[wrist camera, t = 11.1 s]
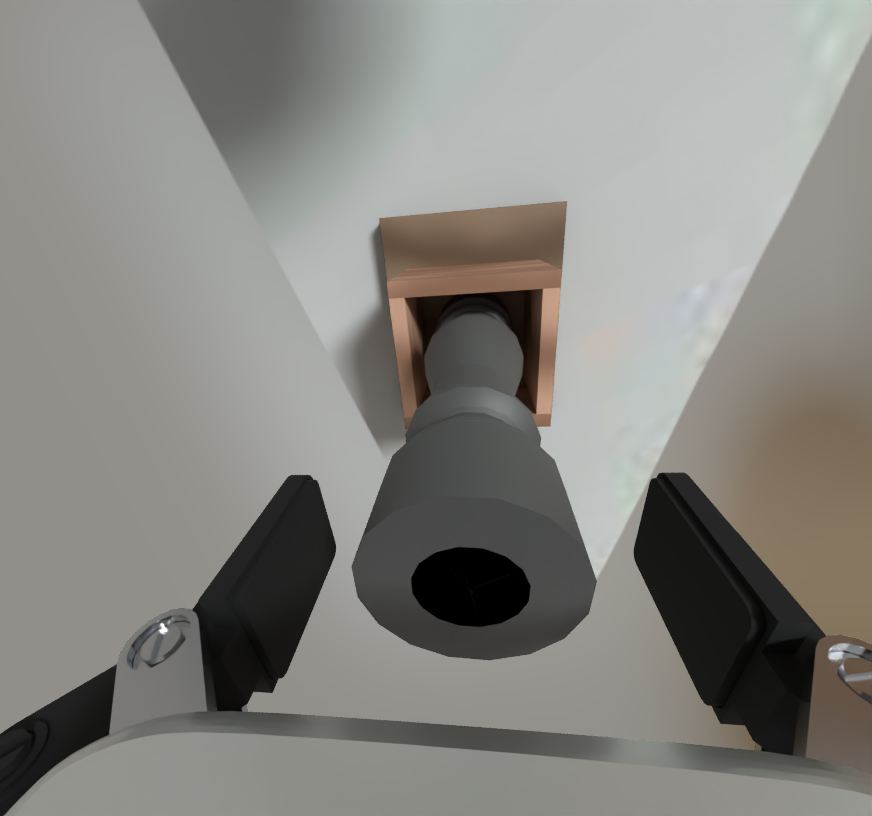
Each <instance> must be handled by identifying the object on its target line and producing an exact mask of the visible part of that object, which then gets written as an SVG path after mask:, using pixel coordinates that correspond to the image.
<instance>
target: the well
mask: <svg viewBox="0 0 872 816" xmlns="http://www.w3.org/2000/svg"><path fill="white" fill-rule="evenodd" d="M566 208H567V201H564V202H553V203H542V204H531V205H520V206H509V207H498V208H487V209H476V210H465V211H454V212H443V213H433V214H422V215H411V216H400V217H389V218H379V221H380V229H381V236H382V244H383V252H384V260H385V267H386V275H387V290H388V298H389V305H390V313H391V321H392V328H393V336H394V344H395V351H396V359H397V367H398V374H399V382H400V390H401V397H402V405H403V413H404V420H405V428H406V429H408V428H409V425H410V423H411V420H412V418H413V415H414V413H415V410H416V409H417V408H418V407H419V406H420V405H421V404H422V403H423V402H425V401H426V400H427V399H428V398H429V397H430V396H431V392H430V388H429V385H428V382H427V379H426V375H425V359H424V356H425V353H426V351H427V348H428V346H429V343H430V340H431V338H432V336H433V335H434V334H435V331H434V329H435V327H436V324H437V322H438V319H439V316H440V314H441V311H442V309H443V306H444V305H445V304H446V303H447V302H448V301H449V300H450V299H451V298H452V297H453V296H454V295H457V294H470V293H486V292H489V293H491V294H494V295H496V296H497V297H498V298H499V300H500V301H501V302H502V303H503V304H504V305H505V306H506V309H507V311H508V314H509V317H510V319H511V322H512V325H513V328H514V334H515V335H516V337H517V339H518V342H519V345H520V348H521V350H522V353H523V356H524V359H523V371H522V377H521V380H520V383H519V386H518V389H517V392H516V395H515V396H516V397H517V398H518V399H519V400H520V401H521V402H522V403H523V404H524V405H525V406H526V407H527V408H528V409H529V410H530V411H531V412H532V415H533V418H534V420H535V423H536V426H537V427H542V426H550V424H551V412H552V398H553V385H554V371H555V358H556V344H557V330H558V317H559V303H560V289H561V276H562V262H563V249H564V235H565V221H566Z"/></svg>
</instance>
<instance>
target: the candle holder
mask: <svg viewBox="0 0 872 816" xmlns="http://www.w3.org/2000/svg"><path fill="white" fill-rule="evenodd" d="M434 331H435V334H434V335H433V336H432V338H431V340H430V343H429V346H428V348H427V351H426V353H425V356H424V359H425V375H426V379H427V382H428V385H429V388H430V392H431V396H430V397H429V398H428V399H427V400H426V401H425V402H423V403H422V404H421V405H420V406H419V407H418V408H417V409H416V410H415V413H414V415H413V418H412V420H411V423H410V425H409V428H408V430H407V433H406V444H405V445H404V446H403V447H402V448H401V449H399V450H398V451H397V452H396V453H395V454H394V455H393V456H392V459H391V461H390V464H389V466H388V469H387V471H386V474H385V477H384V479H383V482H382V484H381V487H380V490H379V493H378V495H377V498H376V501H375V504H374V506H373V509H372V512H371V515H370V517H369V520H368V523H367V526H366V528H365V531H364V534H363V537H362V539H361V542H360V545H359V548H358V550H357V553H356V556H355V558H354V561H353V564H352V570H353V576H354V581H355V586H356V591H357V595H358V598H359V599H360V601H361V602H362V603H363V604H364V606H365V607H366V608H367V610H368V611H369V612H370V613H371V615H372V616H373V617H374V619H375V620H376V621H377V622H378V624H380V625H381V626H383V627H384V628H386V629H387V630H389V631H390V632H392V633H394V634H395V635H397V636H398V637H400V638H401V639H403V640H404V641H406V642H408V643H409V644H411V645H414V646H417V647H420V648H423V649H426V650H429V651H433V652H436V653H439V654H442V655H445V656H448V657H458V658H459V657H460V658H471V659H483V660H493V659H501V658H507V657H514V656H520V655H527V654H531V653H533V652H536V651H538V650H540V649H542V648H544V647H547V646H549V645H551V644H553V643H555V642H558V641H559V640H562V639H564V638H565V637H566V636H567V635H568V634H569V633H570V632H571V631H572V630H573V629H574V628H575V627H576V626H577V625H578V624H579V623H580V622H581V621H582V620H583V619H584V618H585V617H586V616H587V615H588V614H589V611H590V606H591V603H592V599H593V595H594V591H595V587H596V583H597V581H596V578H595V575H594V572H593V569H592V566H591V563H590V560H589V557H588V554H587V551H586V549H585V546H584V543H583V540H582V537H581V534H580V531H579V528H578V525H577V522H576V519H575V516H574V513H573V511H572V508H571V505H570V502H569V499H568V496H567V493H566V490H565V487H564V485H563V482H562V479H561V477H560V474H559V471H558V468H557V466H556V463H555V460H554V459H553V458H552V457H551V456H549V455H548V454H547V453H546V452H545V451H544V450H543V449H542V448H541V447H540V442H541V437H540V434H539V431H538V428H537V426H536V423H535V420H534V418H533V415H532V412H531V411H530V410H529V409H528V408H527V407H526V406H525V405H524V404H523V403H522V402H521V401H520V400H519V399H518V398H517V397H516V396H515V395H516V392H517V389H518V386H519V383H520V380H521V377H522V371H523V359H524V356H523V353H522V350H521V348H520V345H519V342H518V339H517V337H516V335H515V334H514V328H513V325H512V322H511V319H510V317H509V314H508V311H507V309H506V306H505V305H504V304H503V303H502V302H501V301H500V300H499V298H498V297H497V296H496V295H494V294H491V293H489V292H486V293H470V294H457V295H454V296H453V297H452V298H451V299H450V300H449V301H448V302H447V303H446V304H445V305H444V306H443V309H442V311H441V314H440V316H439V319H438V322H437V324H436V327H435V329H434Z"/></svg>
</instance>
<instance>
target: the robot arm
mask: <svg viewBox="0 0 872 816" xmlns="http://www.w3.org/2000/svg"><path fill="white" fill-rule="evenodd" d="M335 552H336V544H335V540H334V536H333V533H332V529H331V526H330V522H329V519H328V515H327V512H326V509H325V505H324V501H323V498H322V494H321V491H320V487H319V484H318V482H317V480H313V478H312V477H311V476H310V475H291V476H289V477H288V478H287V479H286V480H285V482H284V483H283V484H282V486H281V487H280V489H279V490H278V491H277V493H276V494H275V495H274V497H273V498H272V500H271V501H270V502H269V504H268V505H267V506H266V508H265V509H264V511H263V512H262V513H261V515H260V516H259V517H258V519H257V520H256V522H255V523H254V524H253V526H252V527H251V529H250V530H249V531H248V533H247V534H246V535H245V537H244V538H243V539H242V541H241V542H240V544H239V545H238V546H237V548H236V549H235V551H234V552H233V553H232V555H231V556H230V558H229V559H228V560H227V561H226V563H225V564H224V566H223V567H222V568H221V570H220V571H219V573H218V574H217V575H216V577H215V578H214V580H213V581H212V582H211V584H210V585H209V586H208V588H207V589H206V590H205V592H204V593H203V595H202V596H201V597H200V599H199V601H198V603H197V604H196V605H195V607H194V608H193V610H191V609H185V608H179V609H173V610H170V611H168V612H165V613H162V614H160V615H159V616H157V617H155V618H153V619H152V620H150V621H148V622H147V623H146V624H145V625H143V626H142V627H141V628H140V629H138V630H137V631H136V632H135V634H133V636H132V637H131V638H130V639H129V640H128V641H127V643H126V644H125V646H124V647H123V650H122V651H121V652H120V655H119V659H118V662H117V665H115V666H113V667H111V668H110V669H108V670H107V671H105V672H103V673H101V674H99V675H98V676H96V677H94V678H93V679H91V680H89V681H87V682H86V683H84V684H82V685H81V686H79V687H77V688H76V689H74V690H72V691H70V692H69V693H67V694H65V695H64V696H62V697H60V698H59V699H57V700H55V701H53V702H52V703H50V704H48V705H47V706H45V707H43V708H42V709H40V710H38V711H36V712H35V713H33V714H31V715H30V716H28V717H26V718H24V719H23V720H21V721H19V722H18V723H16V724H14V725H13V726H11V727H10V728H8V729H7V730H5V731H4V732H3V733H1V734H0V816H872V644H870V643H867V642H865V641H862V640H860V639H857V638H853V637H848V636H844V635H828V636H826V635H825V634H824V633H823V631H822V630H821V629H820V628H819V627H818V626H817V624H816V623H815V622H814V621H813V620H812V619H811V618H810V616H809V615H808V614H807V613H806V612H805V610H804V609H803V608H802V607H801V606H800V605H799V603H798V602H797V601H796V600H795V599H794V598H793V596H791V594H790V593H789V592H788V591H787V590H786V588H785V587H784V586H783V585H782V584H781V582H780V581H779V580H778V579H777V578H776V577H775V576H774V574H773V573H772V572H771V571H770V570H769V568H768V567H767V566H766V565H765V564H764V563H763V562H762V560H761V559H760V558H759V557H758V556H757V555H756V553H755V552H754V551H753V550H752V549H751V547H750V546H749V545H748V544H747V543H746V542H745V541H744V539H743V538H742V537H741V536H740V535H739V533H738V532H736V530H735V529H734V528H733V527H732V526H731V525H730V524H729V522H728V521H727V520H726V519H725V518H724V517H723V516H722V514H721V513H720V512H719V511H718V510H717V508H716V507H715V506H714V505H713V504H712V503H711V501H710V500H709V499H708V498H707V497H706V495H705V494H704V493H703V492H702V491H701V490H700V489H699V487H698V486H697V485H696V484H695V483H694V482H693V480H692V479H691V478H690V477H689V476H688V475H687V474H685V473H659V474H658V476H657V478H653V479H652V480H651V481H650V484H649V488H648V493H647V497H646V501H645V505H644V509H643V513H642V517H641V521H640V526H639V530H638V534H637V538H636V542H635V546H634V558H635V562H636V564H637V566H638V569H639V571H640V573H641V575H642V577H643V579H644V581H645V583H646V585H647V587H648V589H649V591H650V593H651V595H652V597H653V600H654V602H655V604H656V606H657V608H658V610H659V612H660V614H661V616H662V619H663V621H664V623H665V625H666V627H667V629H668V631H669V633H670V635H671V637H672V639H673V641H674V644H675V645H676V647H677V649H678V652H679V654H680V656H681V658H682V660H683V662H684V664H685V666H686V668H687V670H688V673H689V674H690V677H691V679H692V681H693V683H694V685H695V687H696V689H697V691H698V693H699V695H700V697H701V699H702V700H703V702H704V703H705V704H706V705H710V706H712V707H713V710H714V712H715V713H716V716H717V718H718V720H719V721H720V723H721V724H733V725H745V726H746V728H747V730H748V732H749V734H750V735H751V737H752V739H753V741H755V748H754V751H753V750H743V749H733V748H723V747H712V746H703V745H693V744H683V743H672V742H660V741H647V740H634V739H623V738H610V737H597V736H585V735H573V734H561V733H548V732H534V731H522V730H509V729H495V728H482V727H468V726H455V725H442V724H428V723H415V722H401V721H387V720H372V719H358V718H342V717H328V716H315V715H300V714H280V713H260V712H258V713H257V712H248V709H247V703H248V701H249V700H250V697H251V695H252V693H253V692H267V693H272V692H273V690H274V688H275V686H276V683H277V681H278V678H283V677H284V675H285V674H286V672H287V670H288V668H289V666H290V663H291V661H292V658H293V656H294V653H295V651H296V649H297V646H298V644H299V641H300V639H301V637H302V634H303V632H304V629H305V627H306V625H307V622H308V620H309V617H310V615H311V612H312V610H313V607H314V605H315V603H316V600H317V598H318V595H319V593H320V590H321V588H322V586H323V583H324V581H325V579H326V576H327V574H328V571H329V569H330V566H331V564H332V561H333V559H334V557H335Z"/></svg>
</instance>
